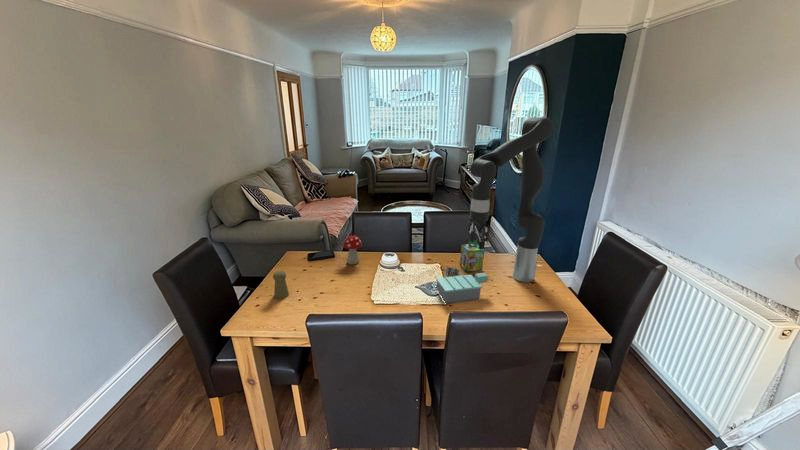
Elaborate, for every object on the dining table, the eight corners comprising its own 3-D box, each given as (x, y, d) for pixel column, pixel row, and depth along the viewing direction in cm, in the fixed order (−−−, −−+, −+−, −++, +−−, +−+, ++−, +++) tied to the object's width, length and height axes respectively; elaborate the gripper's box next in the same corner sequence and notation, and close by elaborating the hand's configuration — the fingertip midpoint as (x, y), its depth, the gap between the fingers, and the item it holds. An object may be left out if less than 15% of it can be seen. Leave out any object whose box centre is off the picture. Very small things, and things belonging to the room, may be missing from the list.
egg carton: (459, 284, 154) (460, 276, 152) (443, 282, 155) (443, 274, 154) (460, 273, 163) (461, 266, 162) (445, 272, 165) (446, 264, 164)
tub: (469, 288, 149) (470, 276, 148) (479, 299, 140) (480, 287, 138) (436, 292, 146) (437, 280, 144) (444, 304, 136) (445, 291, 134)
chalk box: (466, 272, 165) (468, 245, 160) (459, 264, 173) (461, 238, 168) (482, 270, 167) (486, 244, 162) (475, 263, 175) (477, 237, 170)
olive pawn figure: (280, 300, 137) (277, 277, 133) (271, 296, 140) (268, 273, 136) (292, 294, 141) (289, 271, 138) (282, 290, 144) (280, 267, 141)
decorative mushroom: (359, 257, 178) (359, 232, 173) (364, 264, 171) (364, 237, 166) (341, 260, 174) (340, 234, 169) (346, 267, 167) (345, 240, 162)
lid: (479, 275, 149) (480, 268, 148) (491, 286, 139) (492, 280, 138) (436, 279, 144) (436, 273, 143) (445, 292, 134) (445, 285, 133)
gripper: (496, 213, 128) (492, 251, 134) (480, 203, 141) (477, 238, 147) (479, 214, 126) (476, 252, 132) (464, 205, 139) (461, 240, 145)
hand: (476, 245), depth 139 cm, fingers open, 8 cm apart
